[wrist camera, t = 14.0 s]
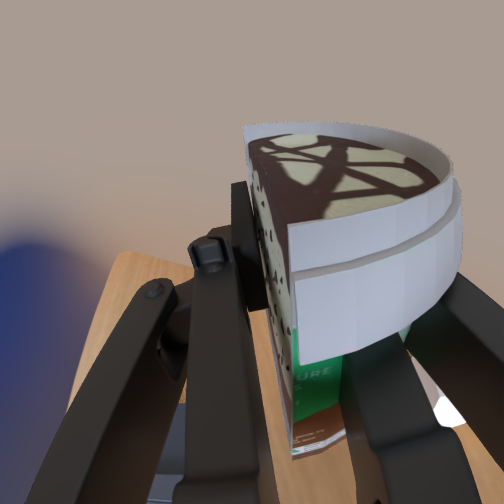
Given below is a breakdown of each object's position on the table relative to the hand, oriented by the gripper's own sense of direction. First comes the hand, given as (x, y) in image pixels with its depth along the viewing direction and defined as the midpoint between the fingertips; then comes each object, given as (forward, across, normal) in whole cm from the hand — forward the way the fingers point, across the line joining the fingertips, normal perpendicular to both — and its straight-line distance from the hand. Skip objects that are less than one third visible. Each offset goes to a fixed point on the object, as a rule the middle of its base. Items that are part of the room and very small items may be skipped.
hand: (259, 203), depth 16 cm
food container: (-6, +2, -6) cm, 9 cm away
